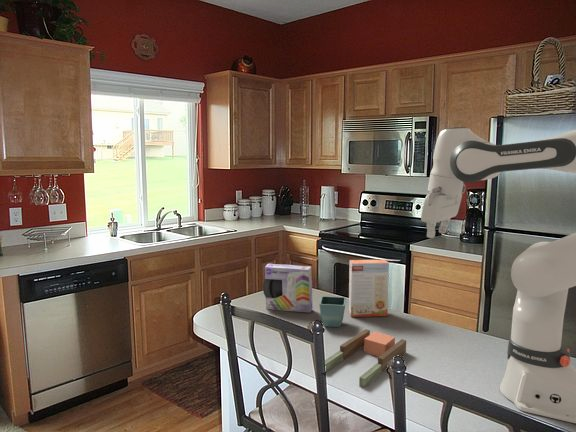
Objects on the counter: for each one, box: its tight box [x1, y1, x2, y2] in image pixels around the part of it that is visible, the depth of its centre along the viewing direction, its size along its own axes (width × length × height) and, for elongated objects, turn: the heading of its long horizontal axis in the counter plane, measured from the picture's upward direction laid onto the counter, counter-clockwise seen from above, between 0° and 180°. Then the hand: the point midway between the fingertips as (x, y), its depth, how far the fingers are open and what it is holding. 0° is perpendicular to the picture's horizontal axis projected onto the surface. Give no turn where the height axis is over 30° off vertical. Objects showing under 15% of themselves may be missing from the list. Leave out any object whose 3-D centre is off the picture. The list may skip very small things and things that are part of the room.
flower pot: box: [319, 295, 347, 328], centre depth 160 cm, size 9×9×9 cm
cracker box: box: [348, 259, 390, 318], centre depth 169 cm, size 14×6×21 cm, turn 92°
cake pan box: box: [262, 263, 314, 313], centre depth 174 cm, size 19×5×18 cm, turn 73°
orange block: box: [363, 331, 396, 357], centre depth 139 cm, size 7×7×4 cm
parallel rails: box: [324, 328, 407, 389], centre depth 132 cm, size 14×26×4 cm, turn 142°
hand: (436, 235), depth 126 cm, fingers open, 8 cm apart
